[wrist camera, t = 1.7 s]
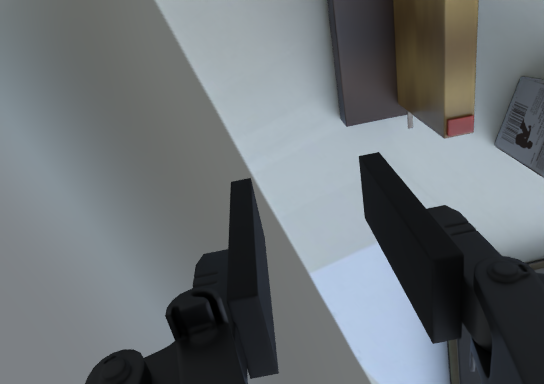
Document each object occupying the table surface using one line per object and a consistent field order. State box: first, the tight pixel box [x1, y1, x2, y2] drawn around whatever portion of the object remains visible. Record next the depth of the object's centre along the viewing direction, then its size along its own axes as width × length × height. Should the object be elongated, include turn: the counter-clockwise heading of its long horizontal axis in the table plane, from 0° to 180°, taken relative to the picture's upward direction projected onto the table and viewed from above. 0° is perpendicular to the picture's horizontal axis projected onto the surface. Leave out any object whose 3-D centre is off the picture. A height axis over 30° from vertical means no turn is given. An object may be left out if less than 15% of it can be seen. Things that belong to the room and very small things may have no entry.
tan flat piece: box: [393, 0, 478, 138], centre depth 25 cm, size 12×2×8 cm, turn 11°
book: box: [447, 259, 544, 384], centre depth 46 cm, size 22×15×3 cm
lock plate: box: [327, 0, 413, 129], centre depth 30 cm, size 16×10×2 cm, turn 11°
